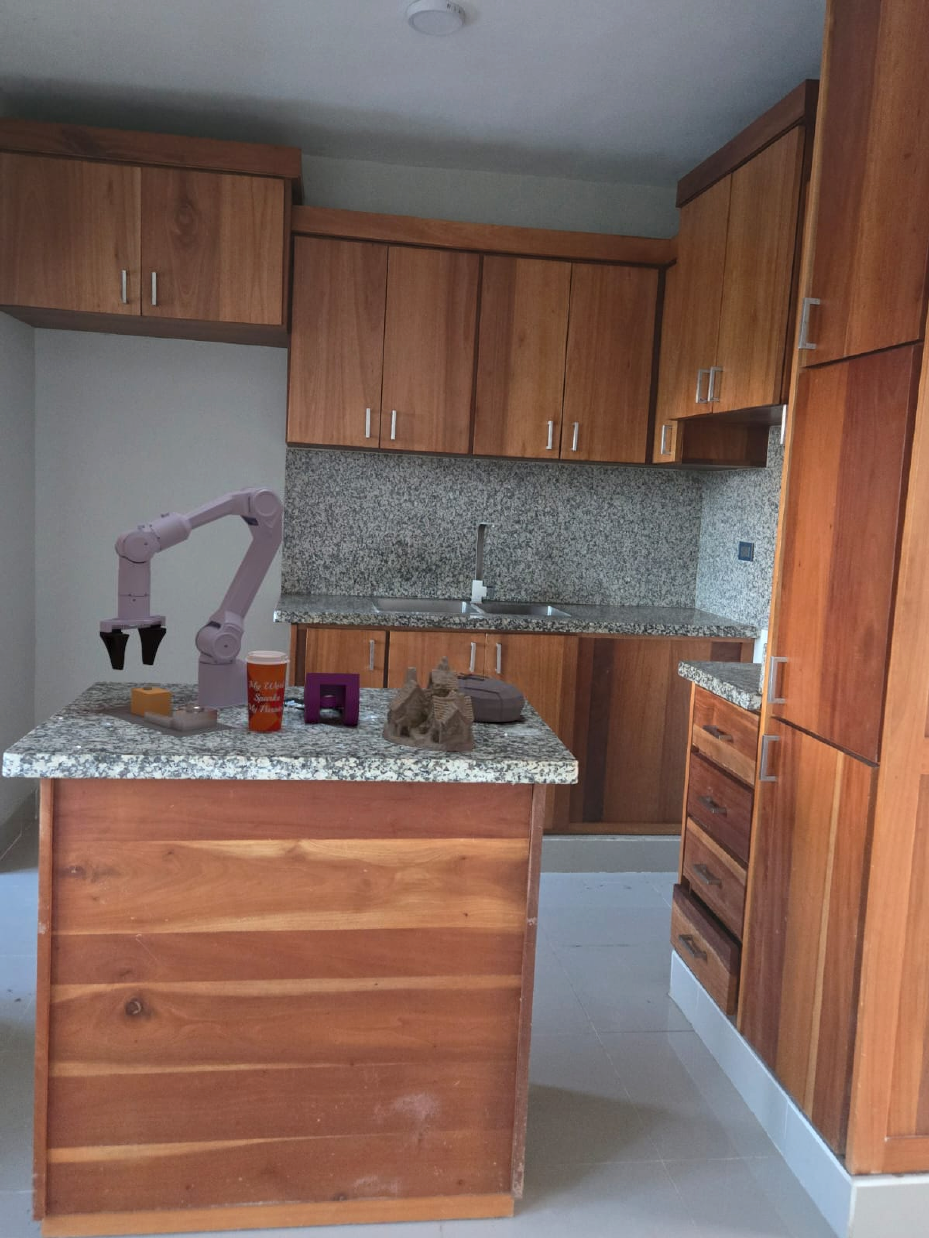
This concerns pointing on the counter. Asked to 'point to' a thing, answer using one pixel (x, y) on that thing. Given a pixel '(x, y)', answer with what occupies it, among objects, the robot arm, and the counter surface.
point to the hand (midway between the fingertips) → (133, 667)
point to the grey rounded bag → (491, 698)
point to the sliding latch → (185, 718)
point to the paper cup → (266, 689)
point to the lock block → (150, 701)
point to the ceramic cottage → (431, 713)
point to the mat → (126, 715)
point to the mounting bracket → (332, 695)
